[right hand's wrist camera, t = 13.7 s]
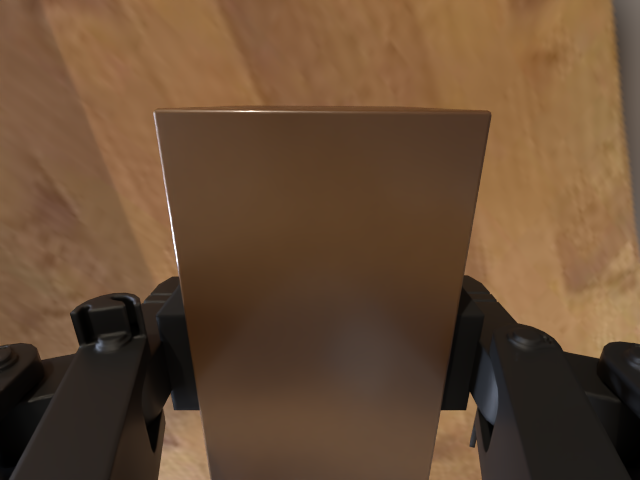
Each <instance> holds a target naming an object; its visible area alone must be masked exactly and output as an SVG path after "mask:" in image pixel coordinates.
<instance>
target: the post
mask: <svg viewBox="0 0 640 480" xmlns="http://www.w3.org/2000/svg"><path fill="white" fill-rule="evenodd" d="M154 120H155V126H156V133H157V139H158V145H159V152H160V158H161V165H162V171H163V177H164V184H165V190H166V197H167V203H168V209H169V216H170V222H171V229H172V235H173V241H174V248H175V254H176V261H177V267H178V273H179V280H180V286H181V293H182V299H183V305H184V312H185V318H186V325H187V331H188V337H189V344H190V350H191V357H192V363H193V370H194V376H195V382H196V389H197V395H198V402H199V408H200V414H201V421H202V427H203V434H204V440H205V446H206V453H207V459H208V466H209V472H210V478H211V480H429V475H430V469H431V463H432V457H433V451H434V446H435V440H436V434H437V428H438V422H439V417H440V411H441V405H442V399H443V393H444V388H445V382H446V376H447V370H448V364H449V359H450V353H451V347H452V341H453V335H454V330H455V324H456V318H457V312H458V306H459V301H460V295H461V289H462V283H463V277H464V272H465V266H466V260H467V254H468V248H469V243H470V237H471V231H472V225H473V219H474V214H475V208H476V202H477V196H478V190H479V185H480V179H481V173H482V167H483V161H484V156H485V150H486V144H487V138H488V132H489V127H490V121H491V112H489V111H481V110H460V109H438V108H416V107H373V106H220V107H192V108H164V109H156V110H154Z"/></svg>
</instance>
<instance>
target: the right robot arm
mask: <svg viewBox="0 0 640 480" xmlns="http://www.w3.org/2000/svg"><path fill="white" fill-rule="evenodd" d="M70 315H71V319H72V322H73V325H74V329H75V332H76V335H77V339H78V342H79V345H80V347H79V349H78V351H77V352H76V353H75V354H71V355H65V356H60V357H55V358H50V359H45V360H41V358H40V356H39V353H38V350H37V348H36V347H34V346H33V345H32V344H24V343H18V344H11V345H3V346H0V480H158V475H159V468H160V460H161V453H162V446H163V438H164V431H165V416H164V411H163V406H164V404H165V403H166V401H167V399H168V397H169V395H170V393H171V397H172V402H173V407H174V410H200V408H199V402H198V395H197V389H196V382H195V376H194V370H193V363H192V357H191V350H190V344H189V337H188V331H187V325H186V318H185V312H184V305H183V299H182V293H181V286H180V280H179V277H171V278H169V279H167V280H166V281H164V282H162V283H161V284H159V285H158V286H157V287H156V288H155V289H154V291H153V292H152V293H151V295H149V296H148V297H147V298H146V300H145V301H144V303H142V304H141V303H140V298H138V297H137V296H136V295H134V294H129V293H113V294H108V295H103V296H99V297H96V298H93V299H91V300H88V301H86V302H84V303H82V304H81V305H79V306H77V307H76V308H75V309H74V310H73V311H72V312H71V313H70ZM469 393H471V394H472V396H473V398H474V400H475V402H476V404H477V411H476V416H475V421H474V425H473V430H472V435H471V440H470V447H473V448H475V443H476V440H477V445H478V452H479V459H480V467H481V474H482V480H640V344H636V343H628V342H611V343H608V344H607V345H605V346H604V348H603V351H602V354H601V356H600V359H599V358H593V357H588V356H583V355H578V354H573V353H568V352H564V351H563V350H562V348H561V346H560V345H559V344H558V343H557V341H556V340H555V339H554V338H553V337H551V336H550V335H548V334H547V333H545V332H543V331H541V330H539V329H536V328H534V327H531V326H527V325H523V324H518V323H517V322H516V321H515V320H514V319H513V318H512V317H511V315H510V314H509V313H508V312H507V311H506V310H505V309H504V308H503V307H502V305H501V304H500V303H499V302H497V300H496V299H495V298H494V297H493V295H492V294H490V292H489V291H488V290H487V289H486V288H485V287H484V285H483V284H482V283H480V282H478V281H477V280H475V279H473V278H471V277H470V276H468V275H464V277H463V283H462V289H461V295H460V301H459V306H458V312H457V318H456V324H455V330H454V335H453V341H452V347H451V353H450V359H449V364H448V370H447V376H446V382H445V388H444V393H443V399H442V405H441V410H466V408H467V403H468V398H469Z"/></svg>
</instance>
